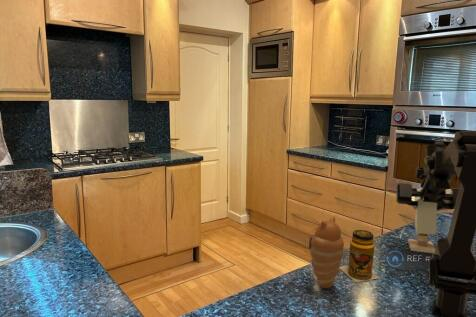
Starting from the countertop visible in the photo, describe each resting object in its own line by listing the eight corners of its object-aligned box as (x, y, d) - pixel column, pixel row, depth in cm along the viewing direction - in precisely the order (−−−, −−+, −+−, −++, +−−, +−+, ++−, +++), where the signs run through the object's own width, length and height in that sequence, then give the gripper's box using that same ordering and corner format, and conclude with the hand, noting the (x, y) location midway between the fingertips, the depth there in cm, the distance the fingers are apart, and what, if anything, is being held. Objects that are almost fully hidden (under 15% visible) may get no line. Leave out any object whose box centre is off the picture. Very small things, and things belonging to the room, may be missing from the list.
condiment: (356, 282, 92) (359, 239, 90) (337, 267, 100) (340, 227, 98) (379, 278, 94) (383, 236, 92) (359, 264, 102) (363, 224, 100)
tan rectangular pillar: (435, 234, 109) (437, 193, 107) (416, 233, 111) (418, 192, 109) (432, 228, 114) (434, 189, 112) (415, 227, 116) (416, 188, 114)
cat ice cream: (321, 275, 95) (325, 211, 92) (347, 287, 90) (353, 219, 86) (301, 286, 90) (304, 218, 86) (327, 300, 84) (332, 228, 81)
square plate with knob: (435, 253, 109) (437, 240, 109) (411, 250, 112) (412, 236, 111) (431, 244, 116) (433, 231, 115) (407, 241, 118) (409, 228, 117)
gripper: (471, 162, 102) (455, 189, 114) (400, 157, 107) (393, 184, 120) (476, 196, 96) (459, 221, 108) (400, 189, 102) (393, 214, 114)
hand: (424, 208), depth 113 cm, fingers closed on tan rectangular pillar, 5 cm apart
